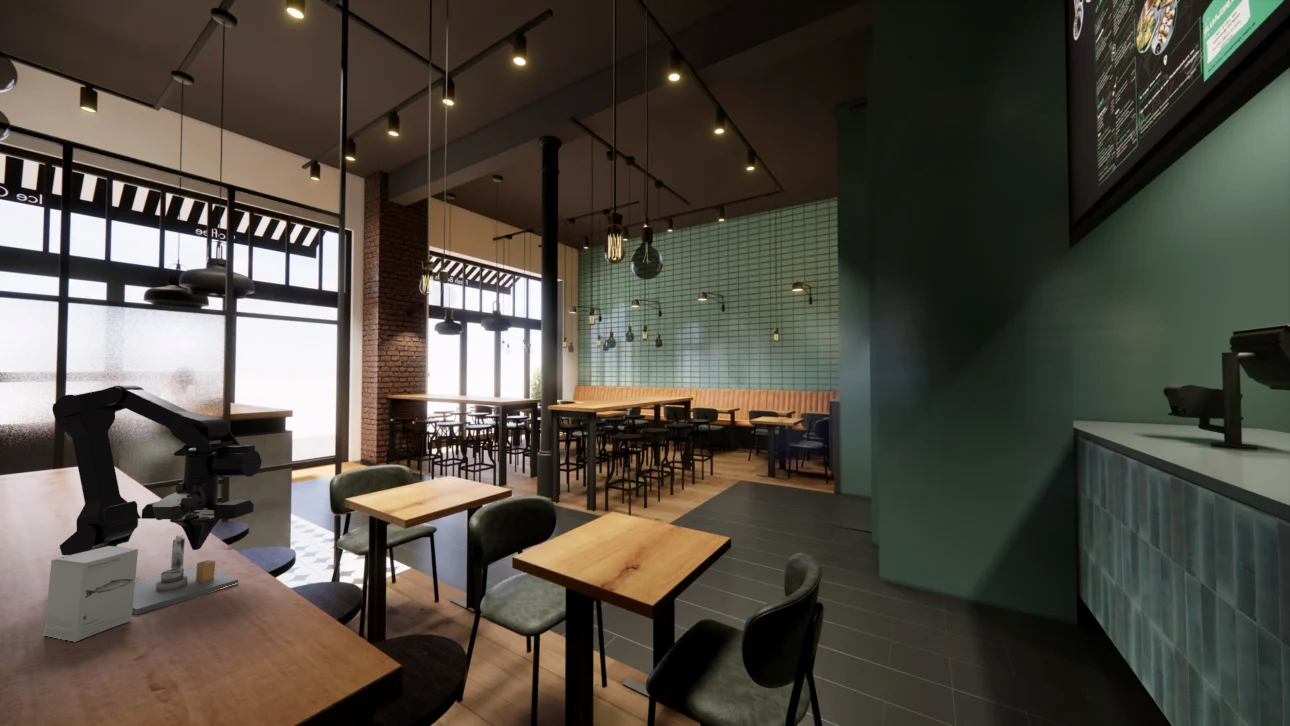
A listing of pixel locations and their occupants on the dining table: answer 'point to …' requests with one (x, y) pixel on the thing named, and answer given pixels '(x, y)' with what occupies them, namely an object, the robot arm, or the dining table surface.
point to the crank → (175, 562)
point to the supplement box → (90, 592)
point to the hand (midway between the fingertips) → (196, 549)
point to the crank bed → (179, 587)
